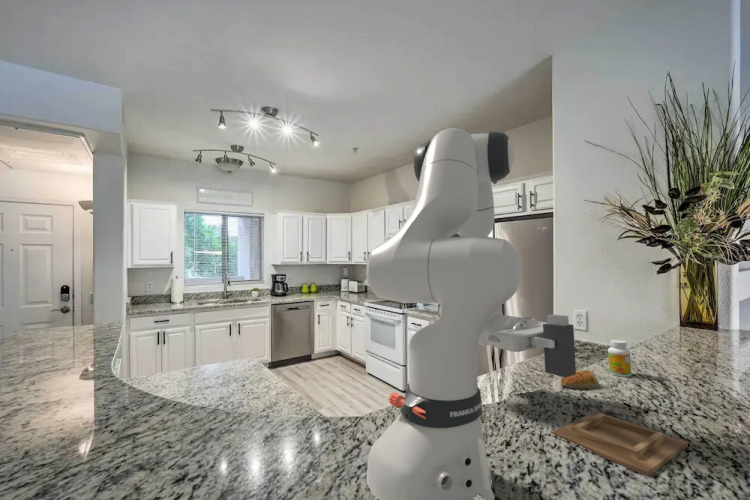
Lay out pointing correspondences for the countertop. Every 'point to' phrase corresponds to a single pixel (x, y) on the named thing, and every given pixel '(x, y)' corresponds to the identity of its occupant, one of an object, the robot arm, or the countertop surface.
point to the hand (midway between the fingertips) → (562, 342)
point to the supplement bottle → (619, 359)
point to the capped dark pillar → (559, 346)
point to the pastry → (580, 380)
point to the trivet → (622, 442)
